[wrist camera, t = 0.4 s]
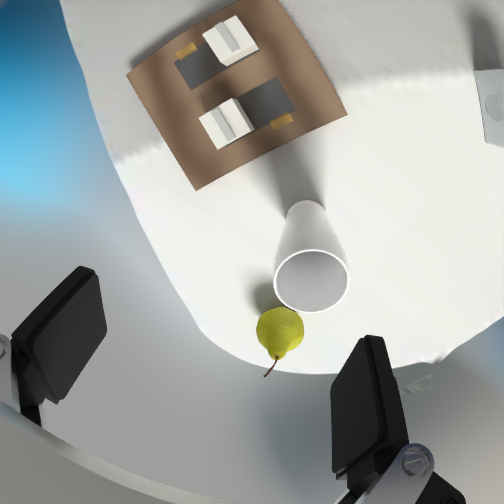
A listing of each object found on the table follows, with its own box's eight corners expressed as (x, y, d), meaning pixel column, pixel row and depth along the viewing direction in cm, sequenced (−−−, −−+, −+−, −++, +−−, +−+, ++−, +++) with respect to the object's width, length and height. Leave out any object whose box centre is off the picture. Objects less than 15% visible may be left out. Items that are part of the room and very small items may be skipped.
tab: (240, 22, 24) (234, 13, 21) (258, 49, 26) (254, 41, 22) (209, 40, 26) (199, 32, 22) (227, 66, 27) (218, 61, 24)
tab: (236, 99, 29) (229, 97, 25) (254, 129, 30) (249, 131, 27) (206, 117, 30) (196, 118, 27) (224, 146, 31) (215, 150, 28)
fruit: (296, 292, 43) (295, 352, 32) (308, 325, 45) (309, 384, 35) (253, 303, 45) (240, 361, 34) (268, 334, 47) (260, 392, 37)
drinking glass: (272, 229, 39) (259, 298, 25) (293, 184, 35) (292, 233, 22) (317, 249, 39) (326, 324, 26) (341, 206, 36) (366, 267, 23)
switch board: (269, -6, 24) (267, -13, 22) (343, 114, 30) (347, 114, 28) (135, 76, 31) (125, 75, 28) (201, 185, 37) (195, 191, 35)
